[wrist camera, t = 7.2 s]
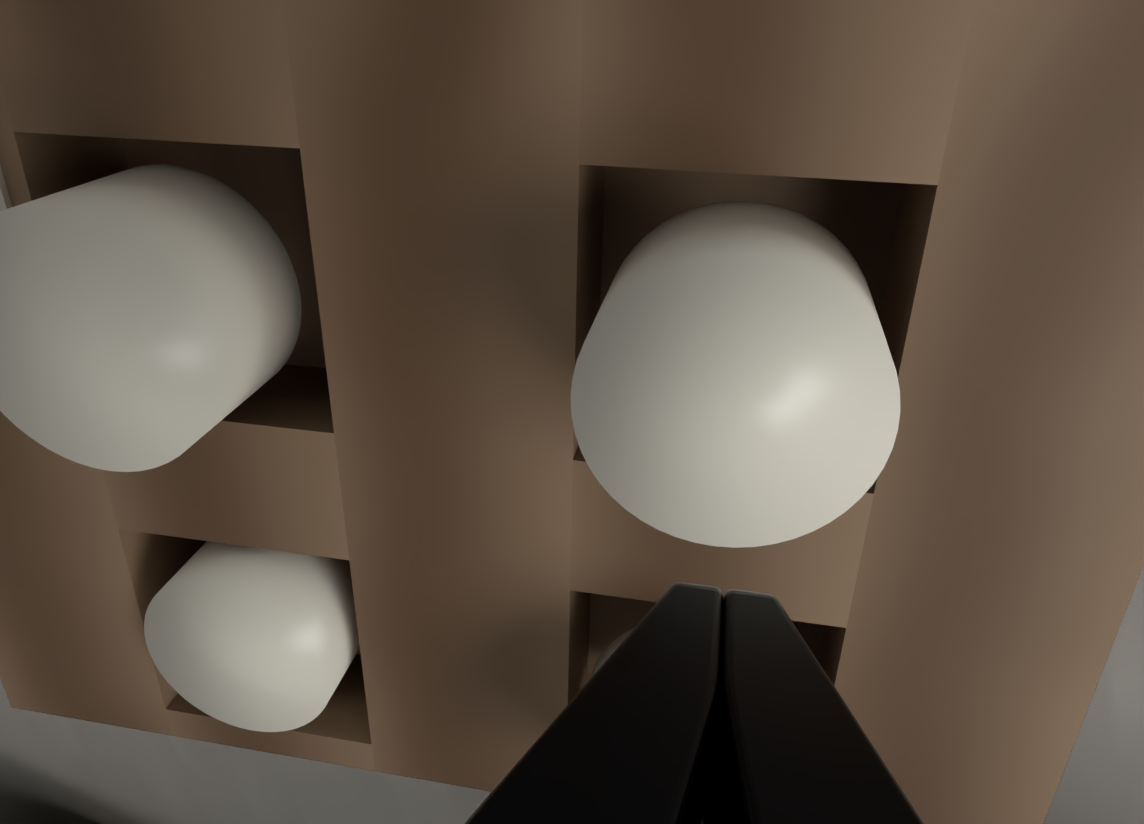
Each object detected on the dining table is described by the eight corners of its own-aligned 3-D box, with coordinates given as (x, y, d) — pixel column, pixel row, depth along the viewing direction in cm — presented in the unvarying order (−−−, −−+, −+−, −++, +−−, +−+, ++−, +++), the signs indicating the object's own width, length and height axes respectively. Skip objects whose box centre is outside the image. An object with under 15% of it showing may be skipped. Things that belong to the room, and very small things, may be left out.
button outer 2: (284, 171, 13) (182, 216, 11) (314, 405, 15) (232, 487, 13) (51, 157, 14) (-91, 196, 12) (107, 383, 16) (-6, 456, 14)
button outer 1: (898, 209, 12) (932, 269, 10) (850, 462, 14) (869, 565, 11) (608, 192, 13) (572, 244, 10) (599, 436, 14) (567, 528, 12)
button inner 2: (376, 511, 19) (320, 591, 16) (390, 655, 20) (342, 745, 18) (202, 489, 19) (124, 563, 17) (231, 631, 21) (165, 715, 19)
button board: (1251, -55, 12) (1399, -60, 9) (984, 760, 20) (1022, 896, 17) (-109, -76, 16) (-300, -85, 13) (96, 622, 23) (3, 715, 20)
